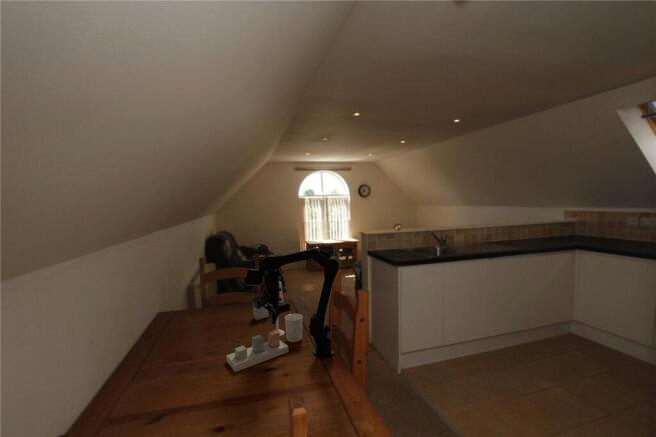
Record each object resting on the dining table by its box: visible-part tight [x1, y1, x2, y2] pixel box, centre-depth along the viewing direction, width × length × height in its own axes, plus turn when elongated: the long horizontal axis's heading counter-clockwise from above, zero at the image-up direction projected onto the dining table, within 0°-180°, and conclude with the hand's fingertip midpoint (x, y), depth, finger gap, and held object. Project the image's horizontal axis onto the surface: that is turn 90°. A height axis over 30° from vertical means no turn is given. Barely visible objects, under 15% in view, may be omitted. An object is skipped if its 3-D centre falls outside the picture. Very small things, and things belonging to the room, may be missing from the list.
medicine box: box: [252, 305, 270, 321], centre depth 157 cm, size 8×4×9 cm, turn 133°
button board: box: [226, 339, 289, 373], centre depth 116 cm, size 9×22×2 cm, turn 128°
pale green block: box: [234, 345, 247, 360], centre depth 112 cm, size 3×3×5 cm
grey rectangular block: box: [251, 334, 265, 353], centre depth 116 cm, size 3×3×5 cm
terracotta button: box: [267, 329, 281, 347], centre depth 120 cm, size 3×3×5 cm
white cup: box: [284, 313, 304, 343], centre depth 131 cm, size 8×8×10 cm
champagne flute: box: [275, 280, 286, 337], centre depth 136 cm, size 7×7×24 cm
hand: (273, 323), depth 120 cm, fingers closed
